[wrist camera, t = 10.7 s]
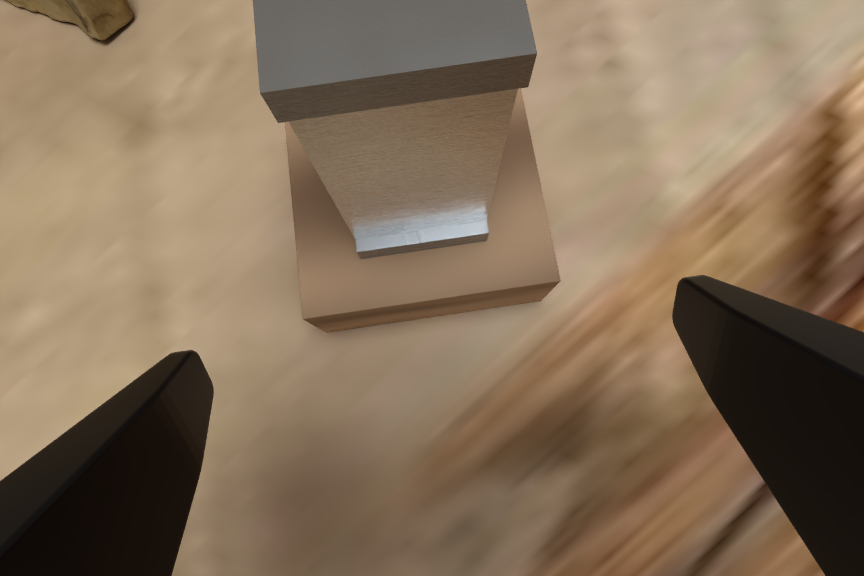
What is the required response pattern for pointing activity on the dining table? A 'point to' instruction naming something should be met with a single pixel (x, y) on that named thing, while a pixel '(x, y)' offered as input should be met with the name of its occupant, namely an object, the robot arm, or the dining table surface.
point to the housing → (399, 108)
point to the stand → (424, 251)
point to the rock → (84, 14)
